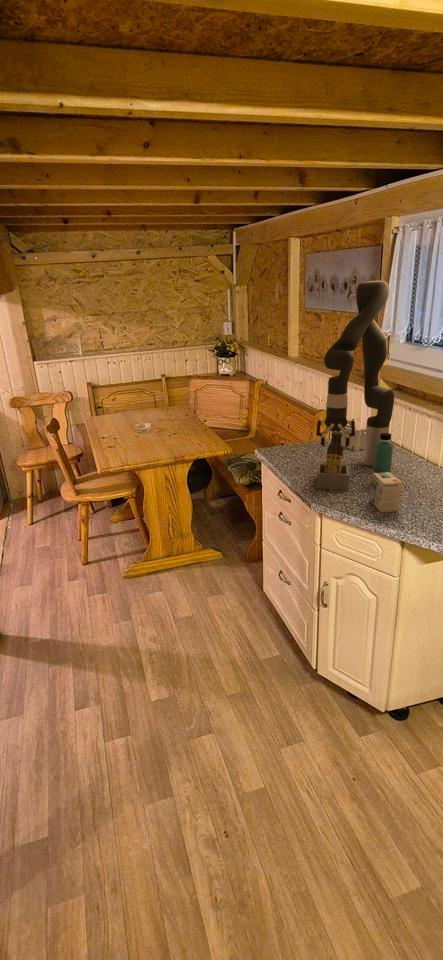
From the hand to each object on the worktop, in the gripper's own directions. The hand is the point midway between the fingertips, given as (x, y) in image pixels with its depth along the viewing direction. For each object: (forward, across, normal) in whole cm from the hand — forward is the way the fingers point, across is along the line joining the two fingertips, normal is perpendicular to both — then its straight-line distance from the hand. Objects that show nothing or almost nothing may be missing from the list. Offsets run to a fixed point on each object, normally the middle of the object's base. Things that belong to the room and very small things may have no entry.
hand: (334, 446), depth 196 cm
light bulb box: (+16, -18, +19) cm, 30 cm away
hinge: (+16, -10, -48) cm, 51 cm away
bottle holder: (+15, 0, 0) cm, 15 cm away
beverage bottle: (+16, -19, -4) cm, 25 cm away
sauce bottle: (+14, 0, 0) cm, 15 cm away
